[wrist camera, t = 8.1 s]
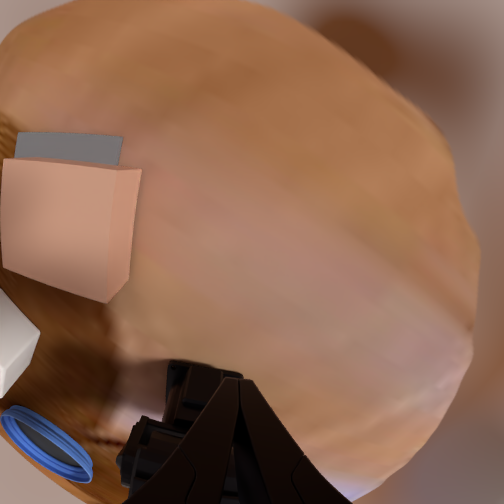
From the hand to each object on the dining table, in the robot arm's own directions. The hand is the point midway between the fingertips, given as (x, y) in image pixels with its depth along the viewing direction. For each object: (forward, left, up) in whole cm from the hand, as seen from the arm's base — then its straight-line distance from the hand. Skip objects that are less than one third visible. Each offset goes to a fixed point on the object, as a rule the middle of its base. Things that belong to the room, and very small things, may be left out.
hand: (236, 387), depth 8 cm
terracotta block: (+1, +8, -10) cm, 12 cm away
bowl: (-38, +25, -12) cm, 47 cm away
